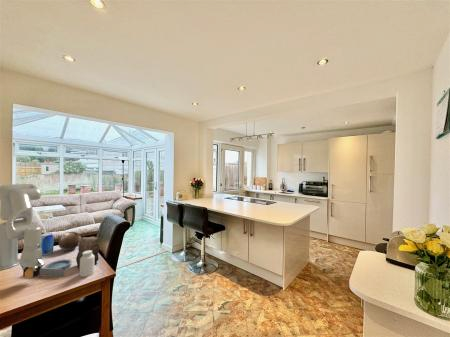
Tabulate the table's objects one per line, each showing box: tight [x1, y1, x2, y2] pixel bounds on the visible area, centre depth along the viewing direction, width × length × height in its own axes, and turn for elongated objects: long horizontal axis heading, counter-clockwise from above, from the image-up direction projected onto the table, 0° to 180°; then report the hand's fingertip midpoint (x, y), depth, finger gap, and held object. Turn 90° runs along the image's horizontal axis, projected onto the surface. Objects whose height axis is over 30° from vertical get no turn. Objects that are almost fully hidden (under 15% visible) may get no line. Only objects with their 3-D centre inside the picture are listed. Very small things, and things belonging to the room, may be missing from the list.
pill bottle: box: [79, 250, 95, 278], centre depth 125 cm, size 8×8×15 cm
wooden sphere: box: [58, 231, 82, 251], centre depth 161 cm, size 15×15×15 cm
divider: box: [29, 267, 64, 278], centre depth 123 cm, size 24×1×4 cm, turn 86°
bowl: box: [43, 259, 73, 271], centre depth 132 cm, size 14×14×2 cm
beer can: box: [41, 232, 55, 256], centre depth 153 cm, size 8×8×16 cm
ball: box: [24, 266, 38, 279], centre depth 115 cm, size 6×6×6 cm
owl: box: [75, 235, 100, 271], centre depth 137 cm, size 13×13×20 cm
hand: (31, 275), depth 115 cm, fingers closed on ball, 5 cm apart
